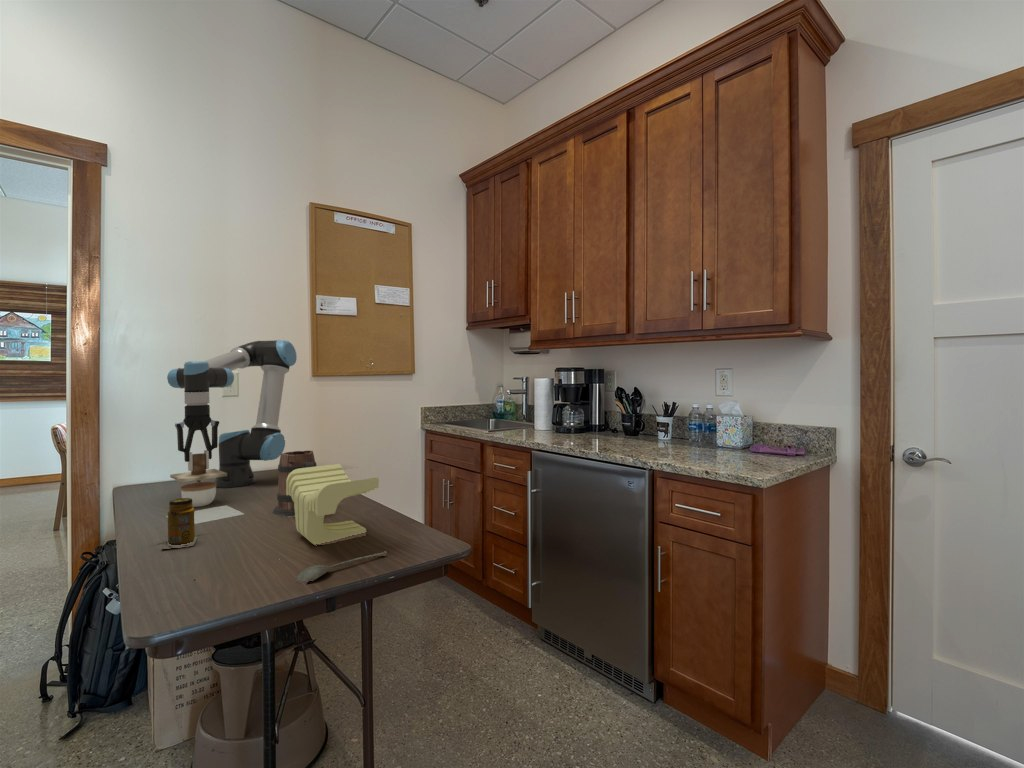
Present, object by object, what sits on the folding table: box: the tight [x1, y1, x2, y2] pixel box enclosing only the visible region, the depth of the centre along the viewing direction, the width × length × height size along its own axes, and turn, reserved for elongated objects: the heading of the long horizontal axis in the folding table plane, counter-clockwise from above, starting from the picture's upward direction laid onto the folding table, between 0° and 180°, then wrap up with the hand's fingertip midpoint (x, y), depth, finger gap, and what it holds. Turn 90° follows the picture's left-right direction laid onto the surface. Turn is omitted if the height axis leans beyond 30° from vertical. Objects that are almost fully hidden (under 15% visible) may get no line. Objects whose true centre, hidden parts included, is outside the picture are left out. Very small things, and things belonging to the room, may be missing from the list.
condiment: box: [167, 497, 196, 545], centre depth 132 cm, size 7×8×12 cm
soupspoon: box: [296, 550, 388, 582], centre depth 113 cm, size 22×3×7 cm
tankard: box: [272, 450, 317, 516], centre depth 163 cm, size 24×17×20 cm
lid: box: [169, 452, 227, 483], centre depth 174 cm, size 14×14×8 cm
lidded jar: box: [180, 480, 217, 508], centre depth 174 cm, size 11×11×9 cm
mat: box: [165, 505, 245, 525], centre depth 160 cm, size 18×18×1 cm
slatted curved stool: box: [286, 463, 380, 546], centre depth 137 cm, size 30×16×18 cm, turn 38°
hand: (198, 469), depth 174 cm, fingers closed on lid, 4 cm apart
